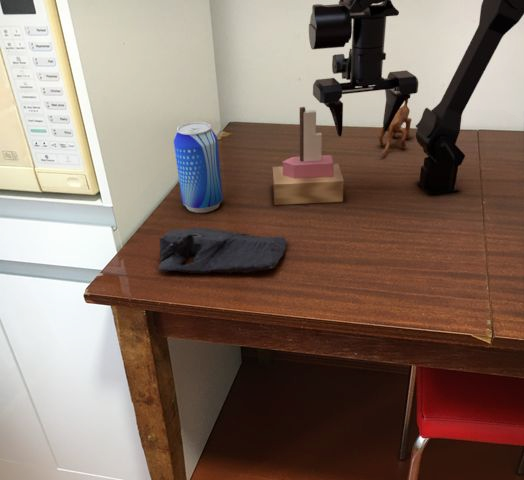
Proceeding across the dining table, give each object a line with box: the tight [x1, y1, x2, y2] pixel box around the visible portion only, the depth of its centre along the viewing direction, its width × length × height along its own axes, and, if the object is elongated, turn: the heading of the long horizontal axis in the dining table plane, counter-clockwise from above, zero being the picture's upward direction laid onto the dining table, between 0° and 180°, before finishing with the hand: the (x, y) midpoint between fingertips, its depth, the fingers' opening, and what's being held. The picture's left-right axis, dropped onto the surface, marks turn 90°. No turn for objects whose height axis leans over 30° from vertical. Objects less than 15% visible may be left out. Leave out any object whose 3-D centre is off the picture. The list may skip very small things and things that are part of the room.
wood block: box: [272, 163, 345, 206], centre depth 124 cm, size 14×9×4 cm, turn 91°
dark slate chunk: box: [157, 227, 288, 274], centre depth 105 cm, size 15×22×5 cm
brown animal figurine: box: [378, 99, 412, 156], centre depth 140 cm, size 18×7×14 cm, turn 153°
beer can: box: [173, 121, 224, 214], centre depth 119 cm, size 8×8×16 cm
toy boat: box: [282, 106, 335, 178], centre depth 119 cm, size 10×4×13 cm, turn 91°
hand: (362, 133), depth 116 cm, fingers open, 9 cm apart
